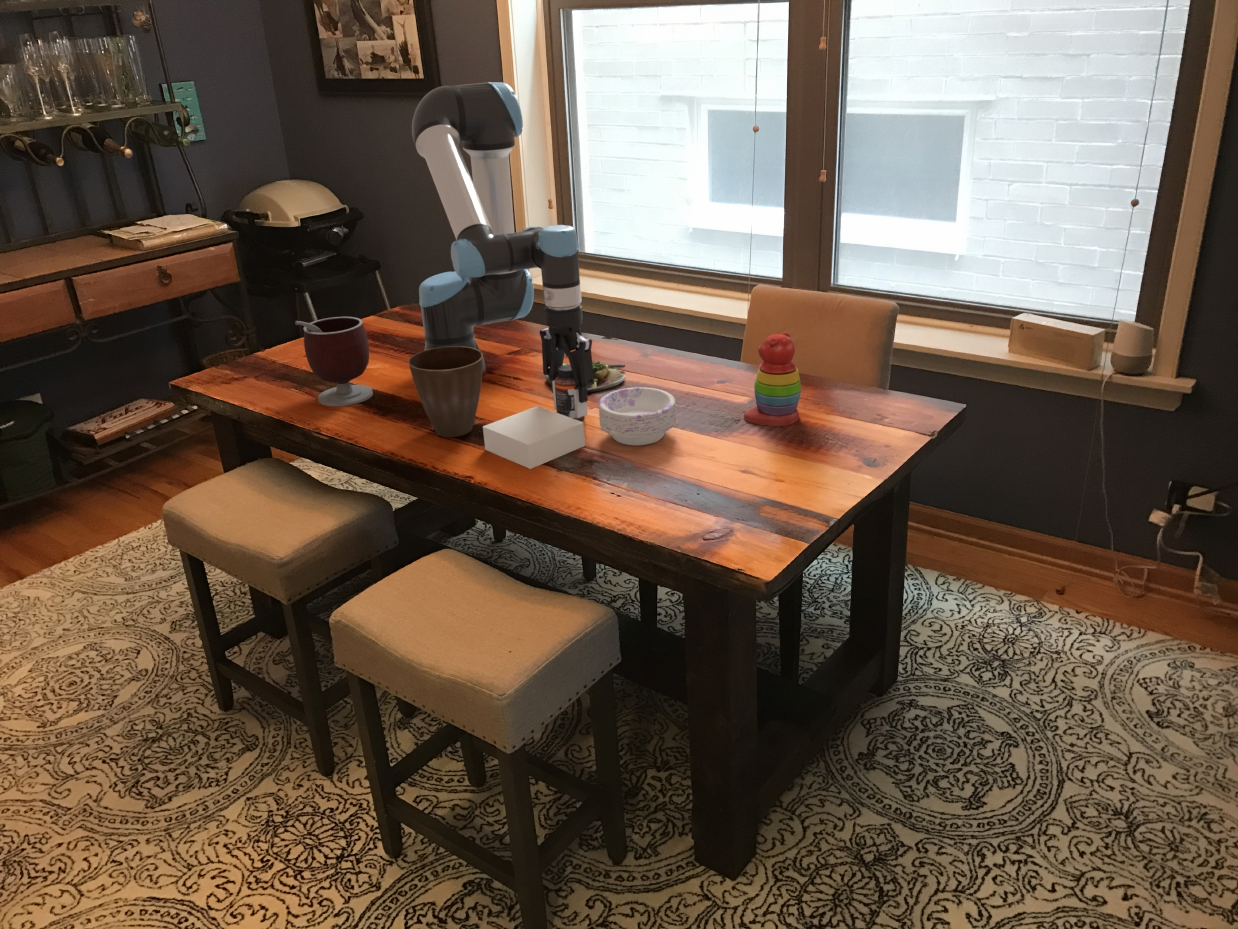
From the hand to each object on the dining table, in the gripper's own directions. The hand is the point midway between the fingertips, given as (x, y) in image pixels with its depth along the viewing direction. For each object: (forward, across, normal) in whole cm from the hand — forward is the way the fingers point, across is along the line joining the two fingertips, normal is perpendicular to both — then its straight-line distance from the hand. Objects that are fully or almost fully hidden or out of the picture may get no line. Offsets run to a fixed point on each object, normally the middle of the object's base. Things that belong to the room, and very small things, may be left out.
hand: (570, 411), depth 207 cm
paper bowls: (+2, +18, +2) cm, 18 cm away
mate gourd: (+2, -51, -25) cm, 57 cm away
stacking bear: (+2, +33, +27) cm, 43 cm away
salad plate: (+2, -15, +17) cm, 23 cm away
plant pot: (+2, -14, -20) cm, 24 cm away
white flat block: (+1, +6, -15) cm, 16 cm away
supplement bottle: (+2, 0, 0) cm, 2 cm away
